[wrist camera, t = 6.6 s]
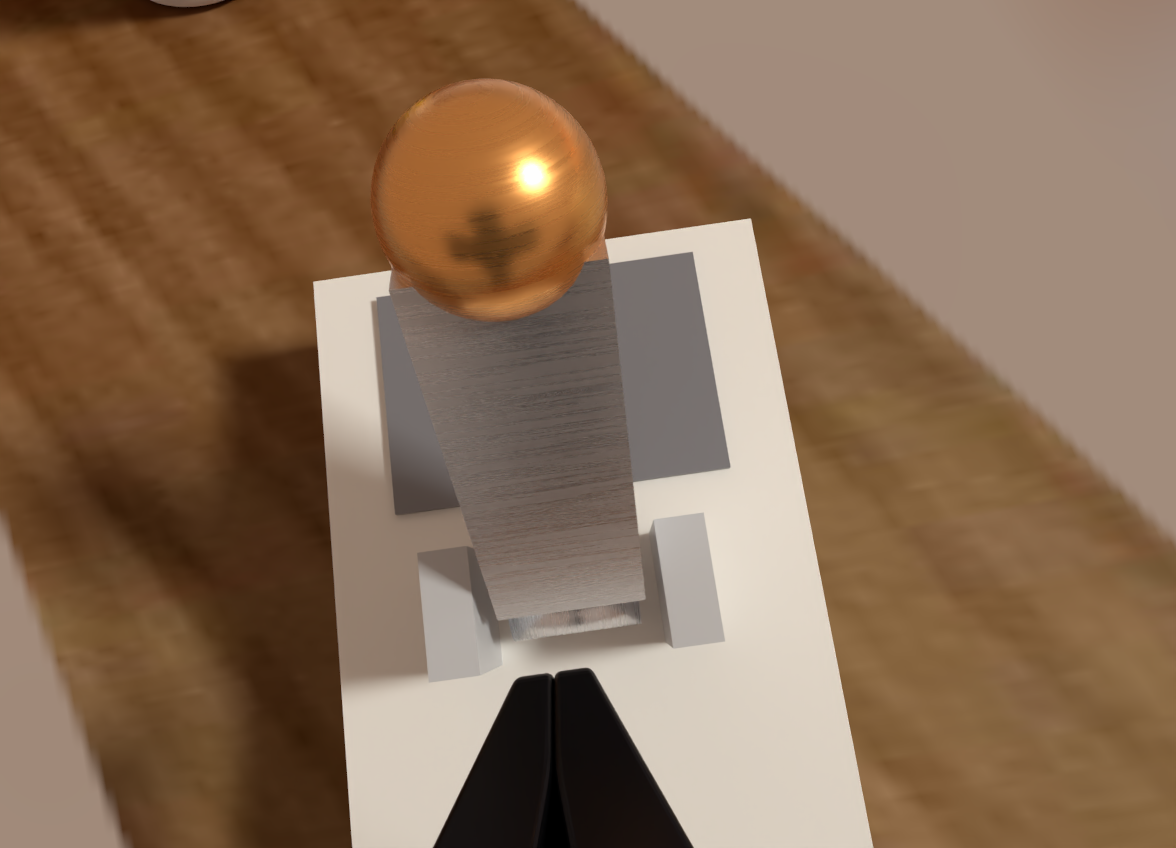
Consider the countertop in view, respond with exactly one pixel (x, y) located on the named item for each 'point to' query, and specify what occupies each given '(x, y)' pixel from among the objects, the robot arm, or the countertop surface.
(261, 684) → the countertop surface
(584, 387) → the switch lever
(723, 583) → the switch box
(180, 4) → the supplement bottle
